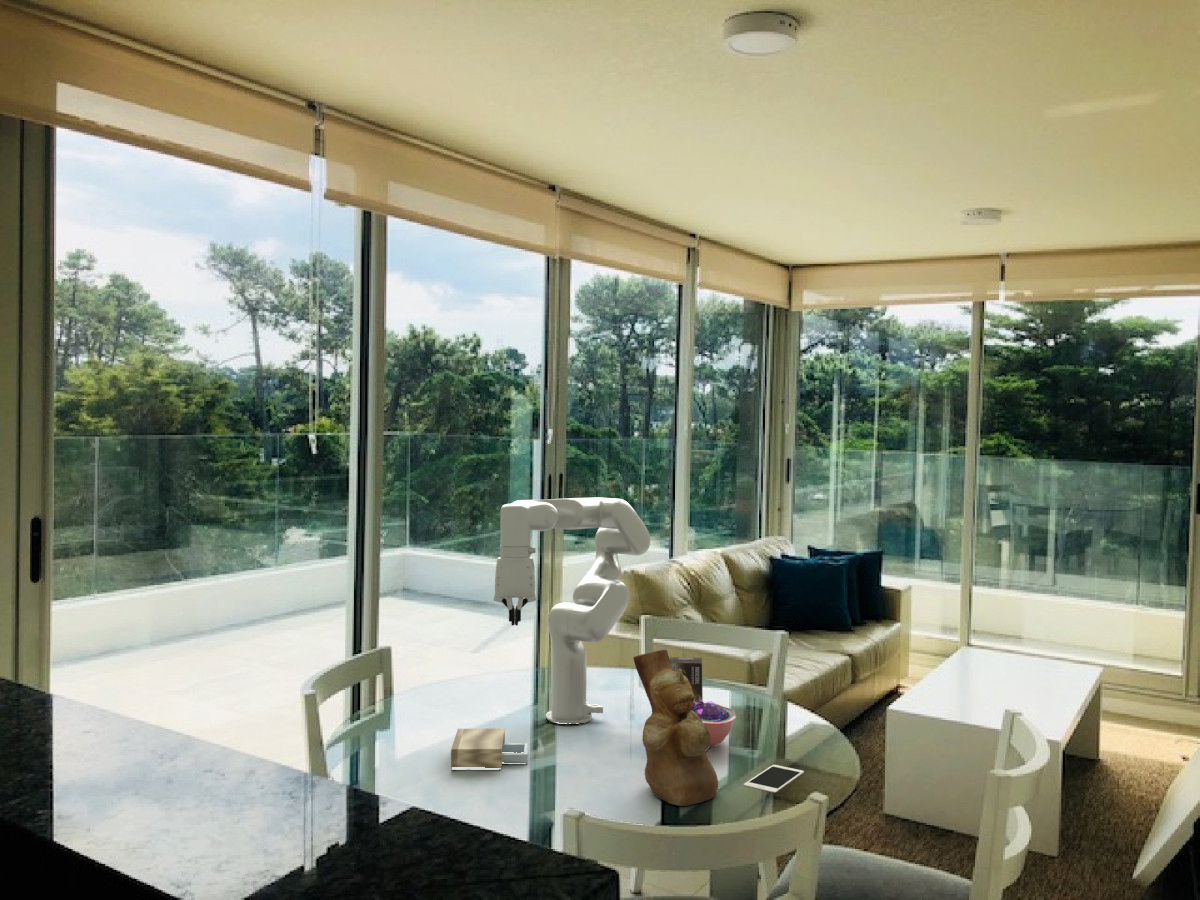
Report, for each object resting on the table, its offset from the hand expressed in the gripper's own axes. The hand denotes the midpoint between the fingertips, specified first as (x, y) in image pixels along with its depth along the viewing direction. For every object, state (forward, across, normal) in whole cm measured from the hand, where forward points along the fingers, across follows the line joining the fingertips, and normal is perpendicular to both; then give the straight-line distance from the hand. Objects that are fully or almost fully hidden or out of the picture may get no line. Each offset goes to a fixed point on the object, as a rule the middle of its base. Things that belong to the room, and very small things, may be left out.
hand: (514, 624), depth 250 cm
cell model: (+29, -46, +6) cm, 55 cm away
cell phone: (+30, -60, +31) cm, 74 cm away
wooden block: (+29, +8, +16) cm, 34 cm away
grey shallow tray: (+29, +3, +16) cm, 33 cm away
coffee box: (+29, -46, -16) cm, 57 cm away
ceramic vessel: (+29, -36, +37) cm, 59 cm away
